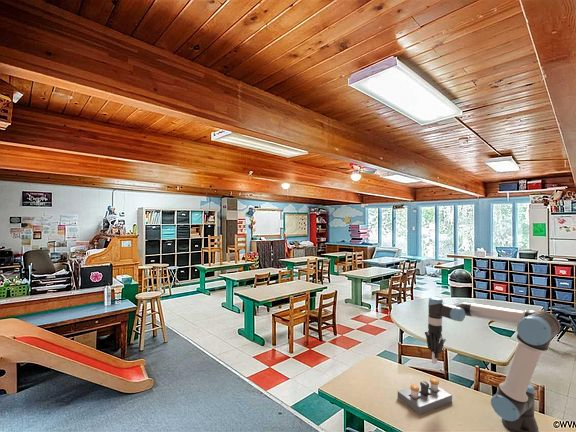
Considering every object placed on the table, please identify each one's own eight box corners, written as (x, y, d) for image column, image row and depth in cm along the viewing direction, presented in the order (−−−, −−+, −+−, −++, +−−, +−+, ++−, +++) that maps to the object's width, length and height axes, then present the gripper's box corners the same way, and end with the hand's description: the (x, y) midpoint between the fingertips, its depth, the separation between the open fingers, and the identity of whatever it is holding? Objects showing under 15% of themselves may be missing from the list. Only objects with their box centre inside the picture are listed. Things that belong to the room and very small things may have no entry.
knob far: (440, 392, 180) (440, 381, 180) (434, 394, 178) (434, 383, 178) (433, 388, 185) (433, 377, 185) (427, 390, 183) (428, 379, 183)
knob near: (421, 399, 174) (421, 388, 174) (414, 401, 172) (415, 390, 172) (414, 394, 178) (414, 383, 178) (408, 396, 176) (408, 385, 176)
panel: (451, 401, 176) (452, 395, 176) (419, 414, 166) (419, 407, 165) (428, 387, 191) (428, 380, 191) (397, 397, 180) (397, 391, 180)
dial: (430, 395, 177) (431, 384, 177) (425, 398, 175) (425, 386, 175) (424, 391, 181) (424, 380, 181) (418, 393, 179) (418, 382, 179)
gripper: (449, 326, 176) (448, 366, 177) (430, 319, 188) (429, 356, 189) (440, 328, 173) (439, 369, 174) (421, 321, 185) (420, 359, 186)
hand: (434, 362), depth 181 cm, fingers closed
